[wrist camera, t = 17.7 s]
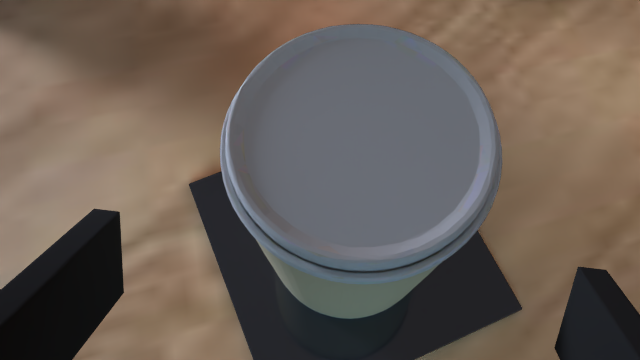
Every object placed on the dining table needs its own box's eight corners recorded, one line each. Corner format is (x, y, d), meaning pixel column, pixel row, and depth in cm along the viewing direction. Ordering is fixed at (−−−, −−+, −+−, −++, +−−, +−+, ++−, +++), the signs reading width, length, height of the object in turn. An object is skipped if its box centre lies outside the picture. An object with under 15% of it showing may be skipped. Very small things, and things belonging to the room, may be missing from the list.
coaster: (190, 187, 31) (188, 183, 30) (401, 105, 33) (403, 100, 32) (277, 423, 26) (276, 423, 26) (519, 310, 28) (523, 308, 28)
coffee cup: (431, 161, 31) (489, 14, 20) (446, 337, 27) (530, 274, 16) (261, 162, 31) (225, 15, 20) (252, 337, 27) (203, 275, 16)
